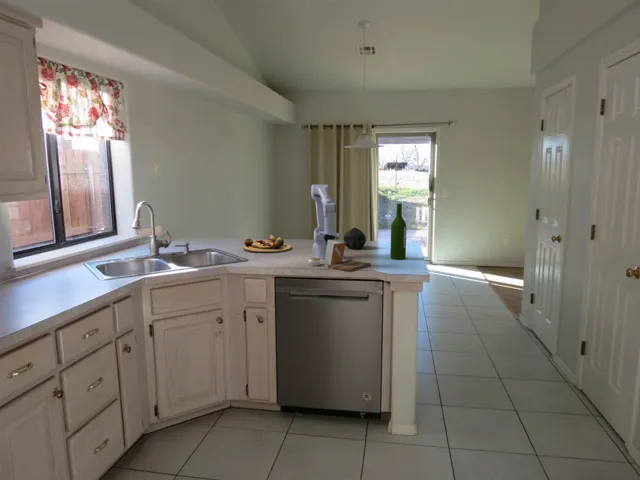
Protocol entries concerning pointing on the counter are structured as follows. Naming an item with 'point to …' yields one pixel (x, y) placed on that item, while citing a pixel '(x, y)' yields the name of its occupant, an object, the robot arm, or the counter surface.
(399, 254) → the wine bottle
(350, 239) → the squash
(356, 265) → the cutting board
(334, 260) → the small box
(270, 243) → the wooden plate with food
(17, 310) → the counter surface
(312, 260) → the ramekin
